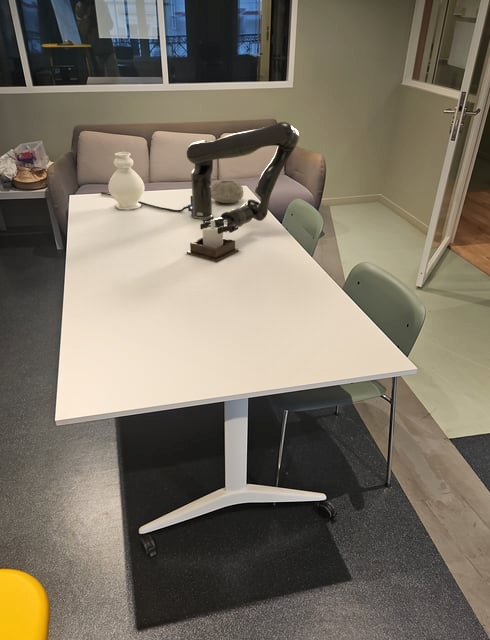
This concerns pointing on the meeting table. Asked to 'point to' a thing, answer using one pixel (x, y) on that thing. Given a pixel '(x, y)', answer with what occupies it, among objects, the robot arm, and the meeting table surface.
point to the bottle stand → (212, 250)
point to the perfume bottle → (212, 236)
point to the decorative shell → (227, 191)
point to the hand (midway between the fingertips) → (209, 229)
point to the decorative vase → (126, 183)
